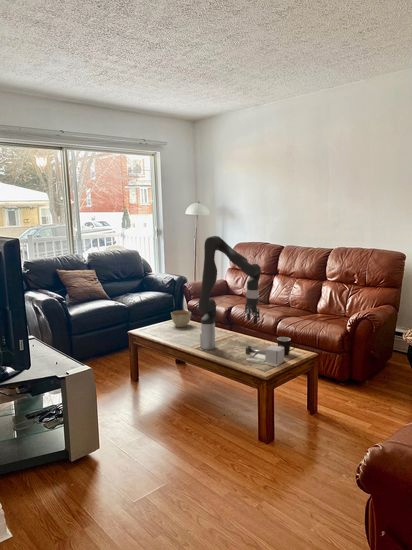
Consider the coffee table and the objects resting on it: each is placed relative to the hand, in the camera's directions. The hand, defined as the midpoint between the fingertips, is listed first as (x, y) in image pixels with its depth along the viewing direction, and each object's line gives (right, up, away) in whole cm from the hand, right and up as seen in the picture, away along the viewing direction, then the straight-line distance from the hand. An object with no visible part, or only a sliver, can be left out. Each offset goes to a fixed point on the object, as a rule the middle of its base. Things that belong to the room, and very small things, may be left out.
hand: (251, 322), depth 253 cm
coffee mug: (+22, -21, +5) cm, 31 cm away
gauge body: (+8, -23, -4) cm, 25 cm away
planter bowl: (-48, -12, +76) cm, 91 cm away
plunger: (+3, -21, -3) cm, 21 cm away
